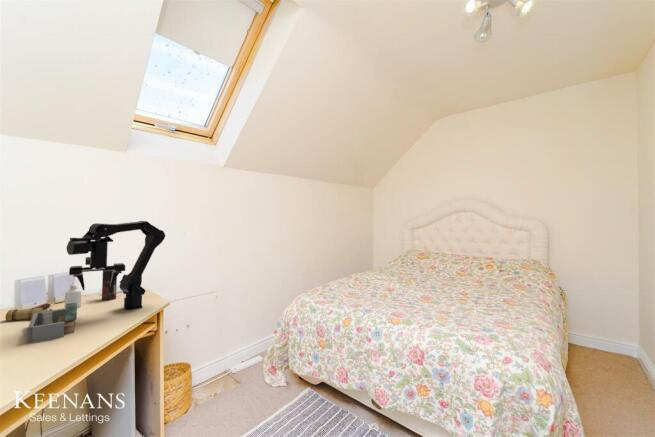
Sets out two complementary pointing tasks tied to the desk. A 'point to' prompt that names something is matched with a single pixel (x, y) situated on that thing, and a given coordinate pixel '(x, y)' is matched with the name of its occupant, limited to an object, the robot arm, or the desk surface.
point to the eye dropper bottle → (73, 295)
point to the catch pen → (45, 327)
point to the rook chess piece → (47, 316)
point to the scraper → (69, 318)
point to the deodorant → (108, 286)
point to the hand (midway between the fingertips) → (97, 288)
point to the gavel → (25, 313)
